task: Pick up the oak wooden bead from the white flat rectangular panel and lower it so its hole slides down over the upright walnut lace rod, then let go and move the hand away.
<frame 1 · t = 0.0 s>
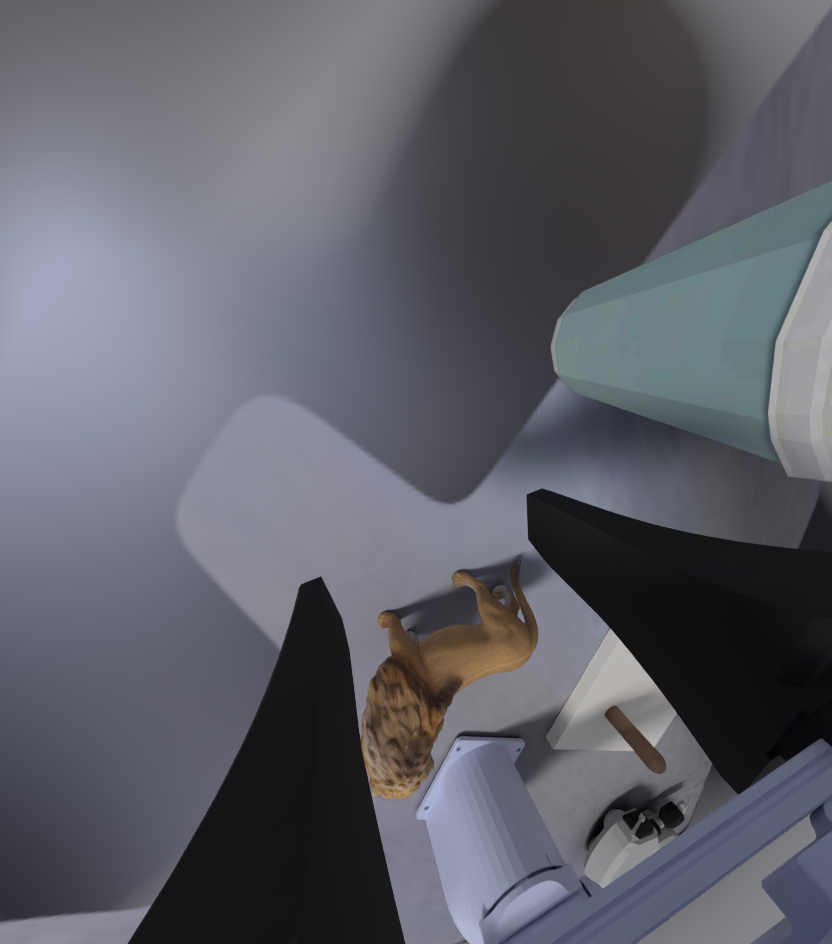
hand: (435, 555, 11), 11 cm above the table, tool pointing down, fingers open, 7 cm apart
lion figurine: (430, 612, 26), on the table
white flat rectangular panel: (639, 673, 36), on the table
disposable coffee cup: (588, 348, 23), on the table
robot toy: (618, 819, 45), on the table
lace rod: (611, 711, 34), resting on white flat rectangular panel
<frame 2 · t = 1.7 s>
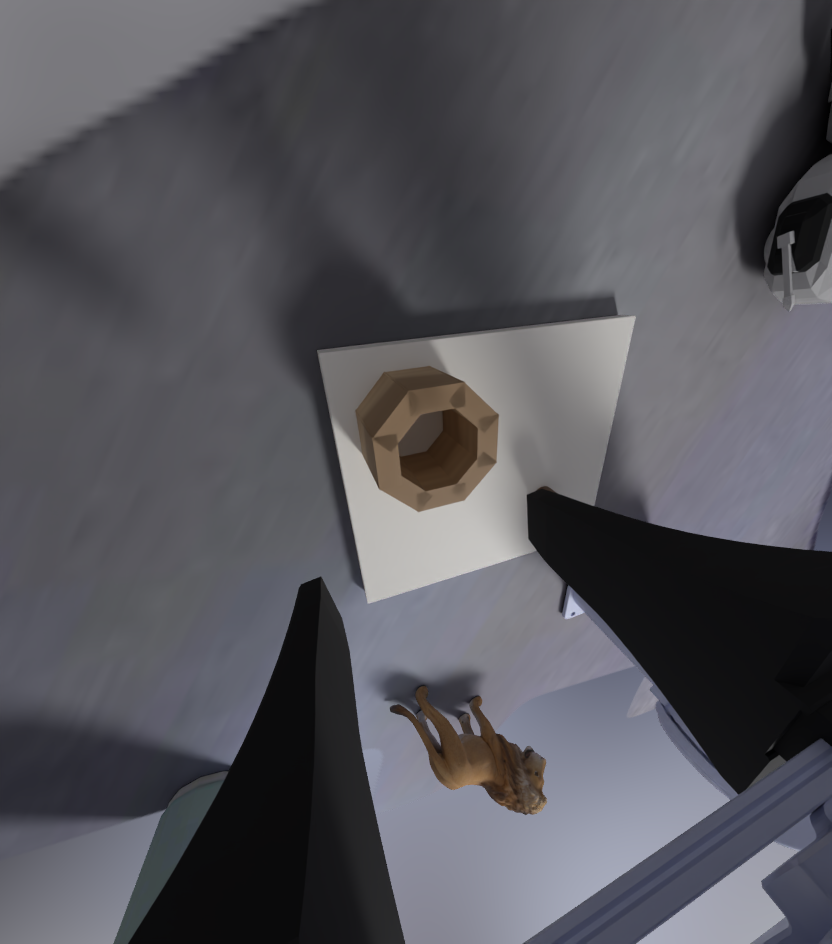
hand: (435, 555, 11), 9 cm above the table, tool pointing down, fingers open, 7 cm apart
lion figurine: (453, 700, 34), on the table
white flat rectangular panel: (482, 462, 22), on the table
disposable coffee cup: (215, 788, 28), on the table
robot toy: (813, 171, 21), on the table
oak bead: (411, 423, 18), point 1 cm above the table, touching white flat rectangular panel
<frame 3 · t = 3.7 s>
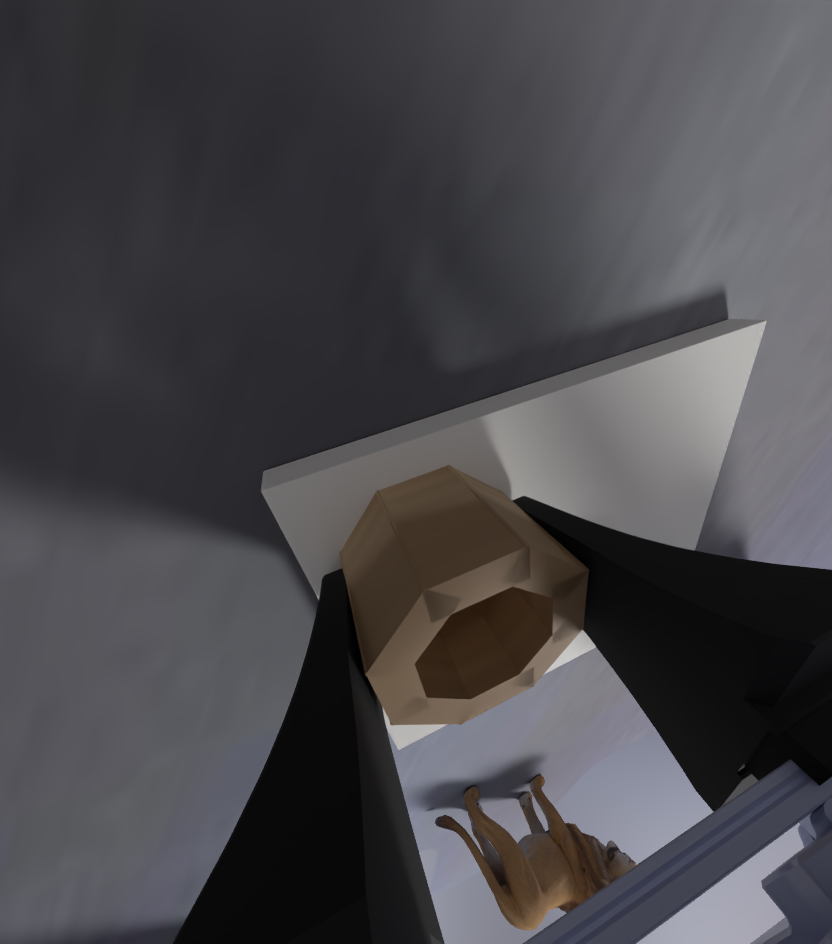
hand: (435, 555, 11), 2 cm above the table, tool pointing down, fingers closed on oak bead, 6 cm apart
lion figurine: (510, 784, 28), on the table
white flat rectangular panel: (535, 552, 15), on the table
oak bead: (429, 545, 11), point 1 cm above the table, touching gripper, white flat rectangular panel
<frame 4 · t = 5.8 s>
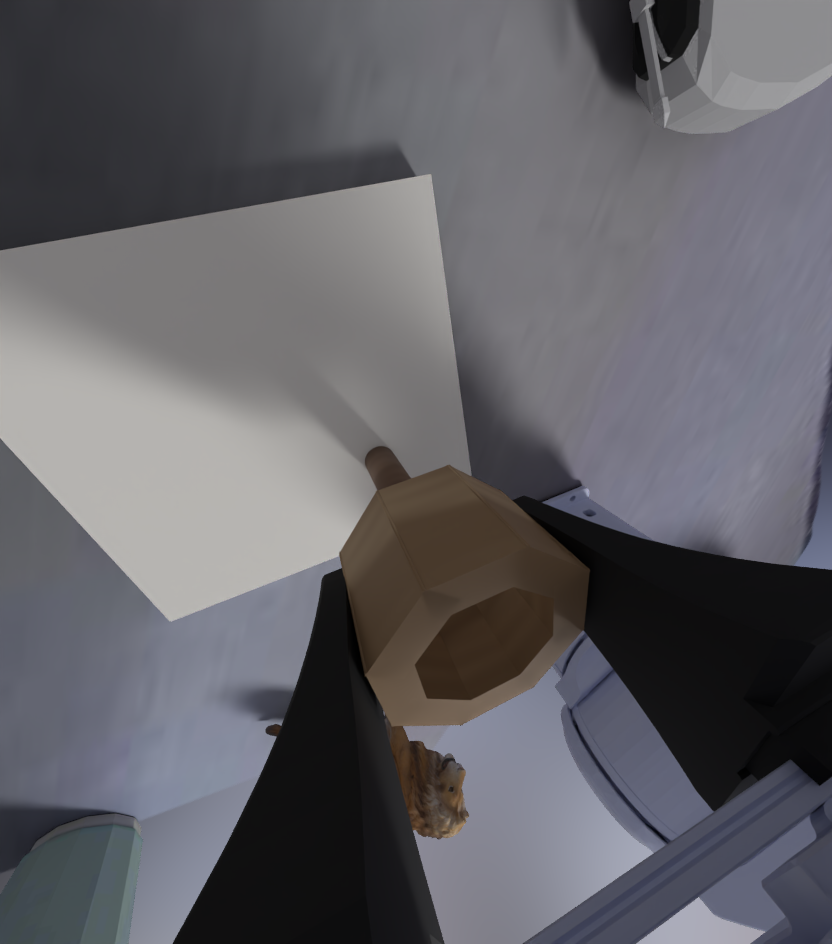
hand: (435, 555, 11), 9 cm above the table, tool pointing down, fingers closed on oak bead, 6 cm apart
lion figurine: (363, 706, 29), on the table
white flat rectangular panel: (280, 424, 16), on the table
disposable coffee cup: (90, 833, 25), on the table
oak bead: (429, 546, 11), point 8 cm above the table, touching gripper
lace rod: (380, 460, 18), resting on white flat rectangular panel
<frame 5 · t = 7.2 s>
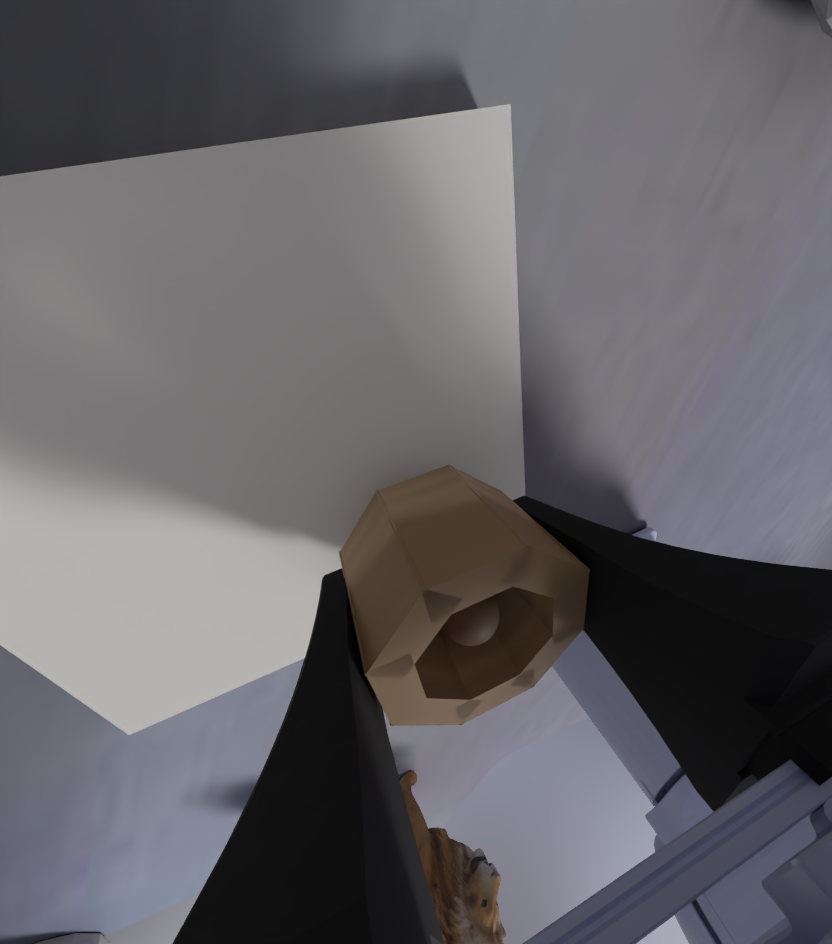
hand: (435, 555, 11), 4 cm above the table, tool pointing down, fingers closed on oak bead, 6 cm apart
lion figurine: (373, 782, 24), on the table
white flat rectangular panel: (278, 472, 12), on the table
oak bead: (429, 545, 11), point 3 cm above the table, touching gripper
lace rod: (412, 517, 13), resting on white flat rectangular panel
when the fingers open (4 cm above the table, at t = 8.2 s): oak bead drops 2 cm, resting on white flat rectangular panel.
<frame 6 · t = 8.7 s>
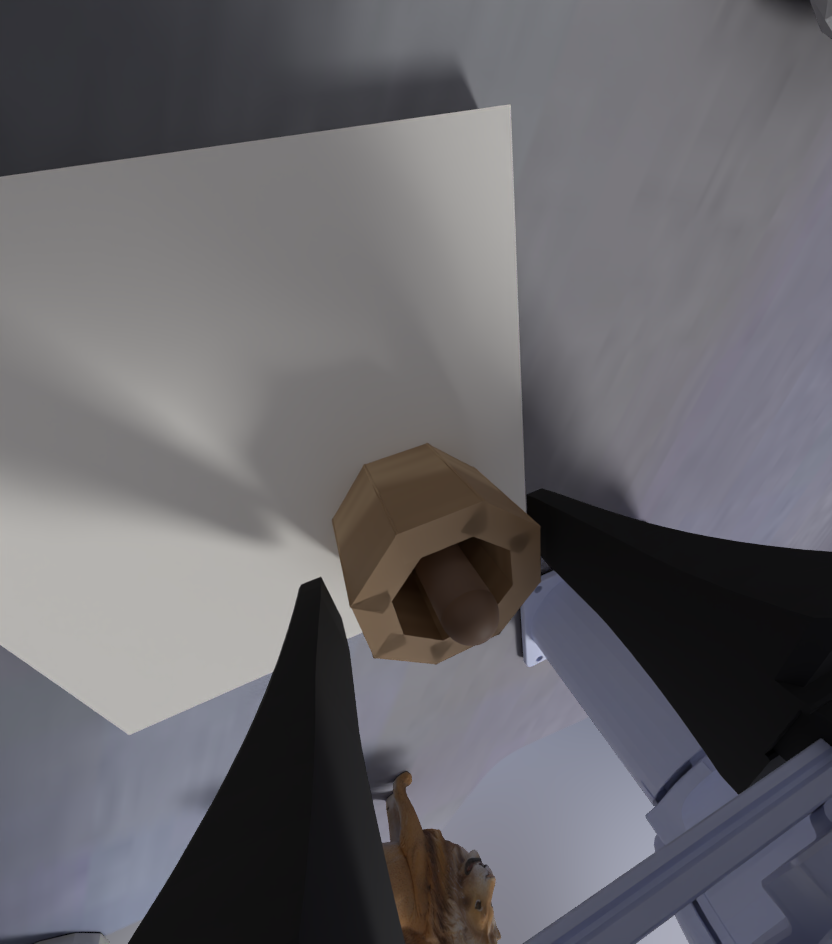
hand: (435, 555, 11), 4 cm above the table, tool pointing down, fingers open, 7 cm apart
lion figurine: (367, 783, 24), on the table
white flat rectangular panel: (278, 472, 12), on the table
oak bead: (412, 516, 13), point 1 cm above the table, touching white flat rectangular panel
lace rod: (413, 517, 13), resting on white flat rectangular panel
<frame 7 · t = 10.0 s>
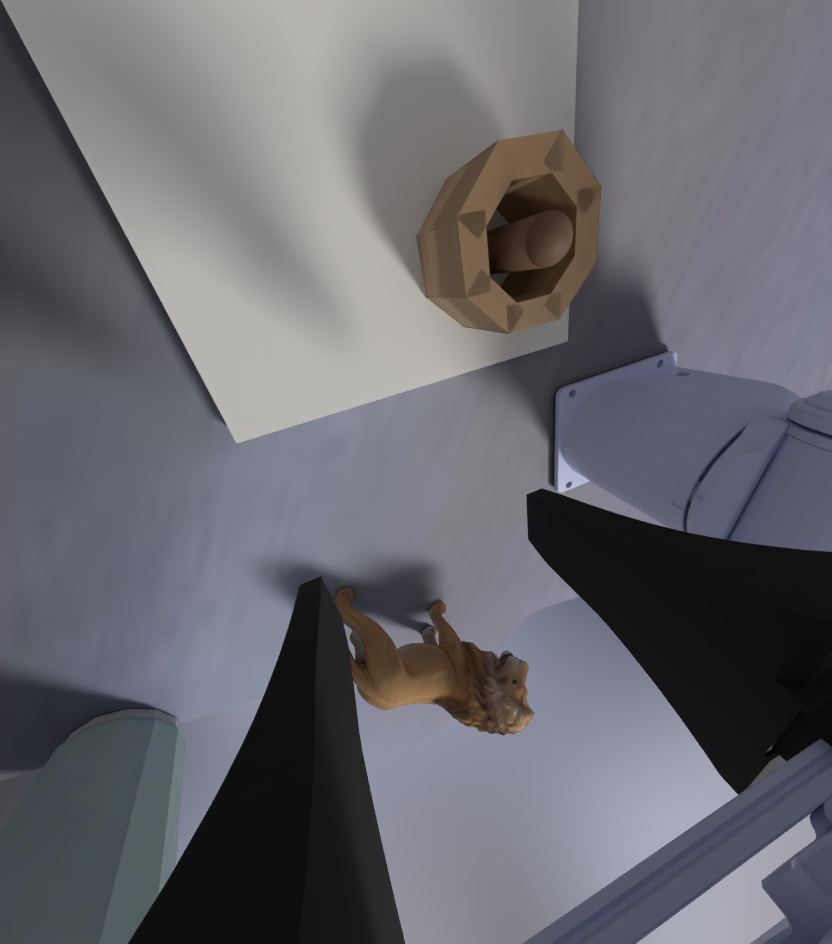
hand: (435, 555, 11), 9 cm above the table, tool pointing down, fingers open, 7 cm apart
lion figurine: (406, 608, 26), on the table
white flat rectangular panel: (371, 194, 14), on the table
disposable coffee cup: (127, 732, 22), on the table
oak bead: (478, 254, 15), point 1 cm above the table, touching white flat rectangular panel
lace rod: (478, 255, 15), resting on white flat rectangular panel
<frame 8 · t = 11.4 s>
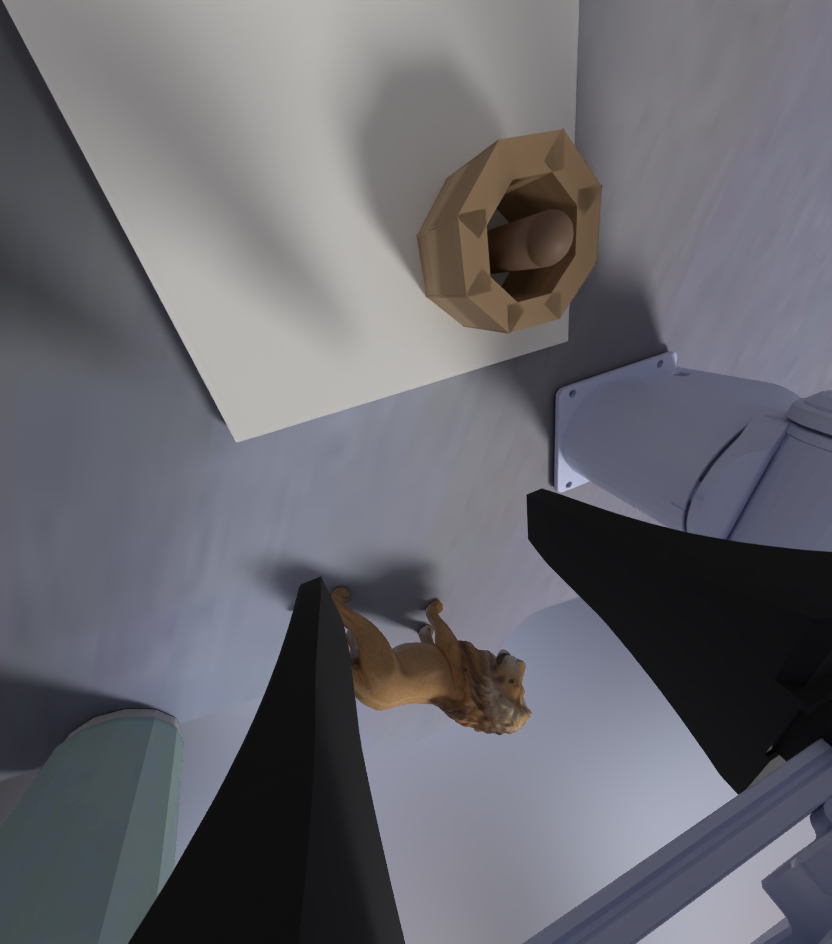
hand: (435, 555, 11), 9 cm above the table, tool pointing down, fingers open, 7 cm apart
lion figurine: (402, 607, 26), on the table
white flat rectangular panel: (372, 194, 14), on the table
disposable coffee cup: (126, 732, 22), on the table
oak bead: (478, 254, 15), point 1 cm above the table, touching white flat rectangular panel
lace rod: (479, 255, 15), resting on white flat rectangular panel
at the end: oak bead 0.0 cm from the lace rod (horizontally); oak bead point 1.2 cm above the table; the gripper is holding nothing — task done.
